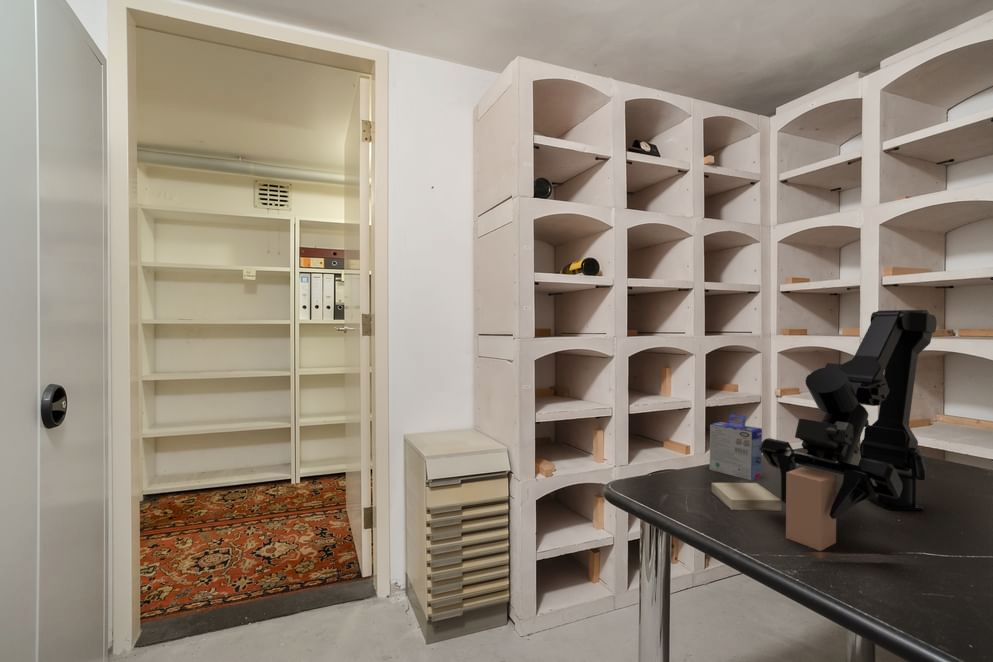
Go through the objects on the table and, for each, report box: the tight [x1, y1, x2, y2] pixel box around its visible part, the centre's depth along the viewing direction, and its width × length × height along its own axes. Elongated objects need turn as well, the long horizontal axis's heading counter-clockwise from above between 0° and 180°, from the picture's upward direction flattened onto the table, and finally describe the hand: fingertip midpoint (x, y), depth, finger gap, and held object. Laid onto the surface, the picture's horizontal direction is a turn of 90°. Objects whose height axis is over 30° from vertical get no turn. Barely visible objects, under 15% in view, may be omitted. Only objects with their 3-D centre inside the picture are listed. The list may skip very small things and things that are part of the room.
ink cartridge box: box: [709, 413, 763, 481], centre depth 105 cm, size 10×6×14 cm, turn 37°
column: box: [785, 466, 837, 560], centre depth 73 cm, size 5×5×12 cm
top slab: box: [711, 482, 782, 512], centre depth 89 cm, size 9×9×2 cm
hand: (806, 509), depth 72 cm, fingers open, 7 cm apart
